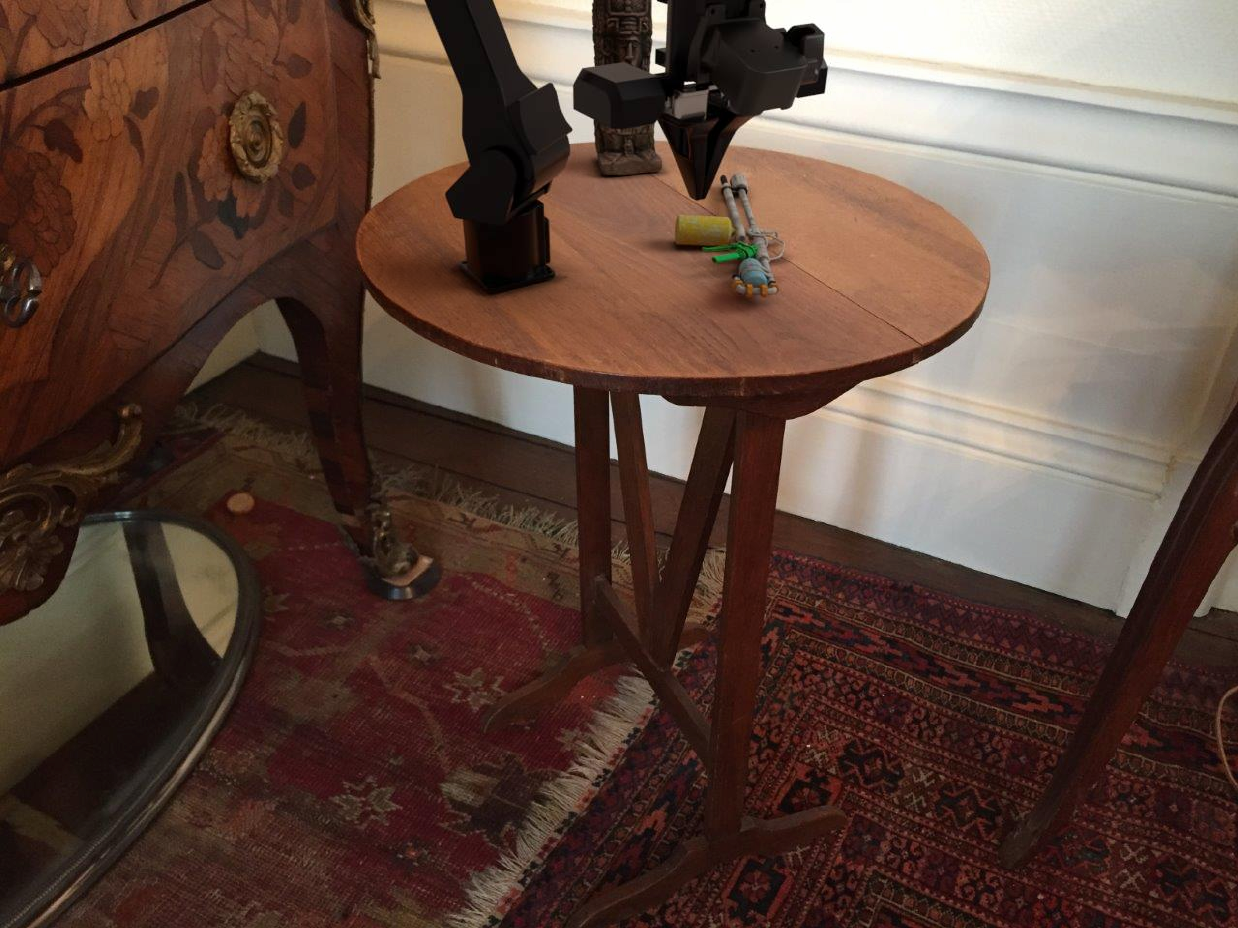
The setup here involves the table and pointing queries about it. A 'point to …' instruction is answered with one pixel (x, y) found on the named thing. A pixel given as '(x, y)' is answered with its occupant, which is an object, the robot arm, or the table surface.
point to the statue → (628, 40)
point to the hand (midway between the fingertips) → (697, 198)
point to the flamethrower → (719, 233)
